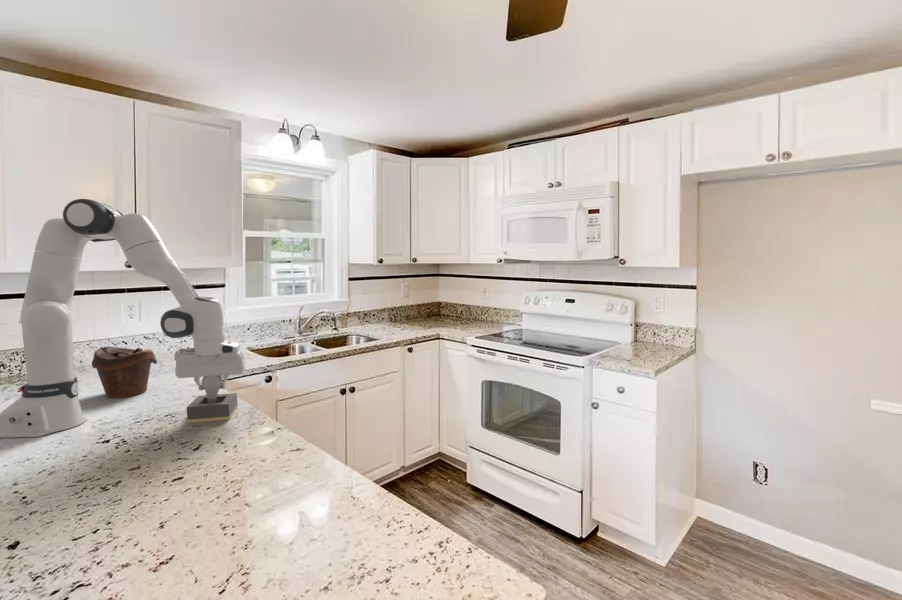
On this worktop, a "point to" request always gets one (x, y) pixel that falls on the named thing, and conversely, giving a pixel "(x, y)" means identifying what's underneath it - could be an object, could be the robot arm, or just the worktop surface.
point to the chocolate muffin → (123, 370)
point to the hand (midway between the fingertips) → (212, 388)
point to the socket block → (212, 408)
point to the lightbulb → (212, 387)
